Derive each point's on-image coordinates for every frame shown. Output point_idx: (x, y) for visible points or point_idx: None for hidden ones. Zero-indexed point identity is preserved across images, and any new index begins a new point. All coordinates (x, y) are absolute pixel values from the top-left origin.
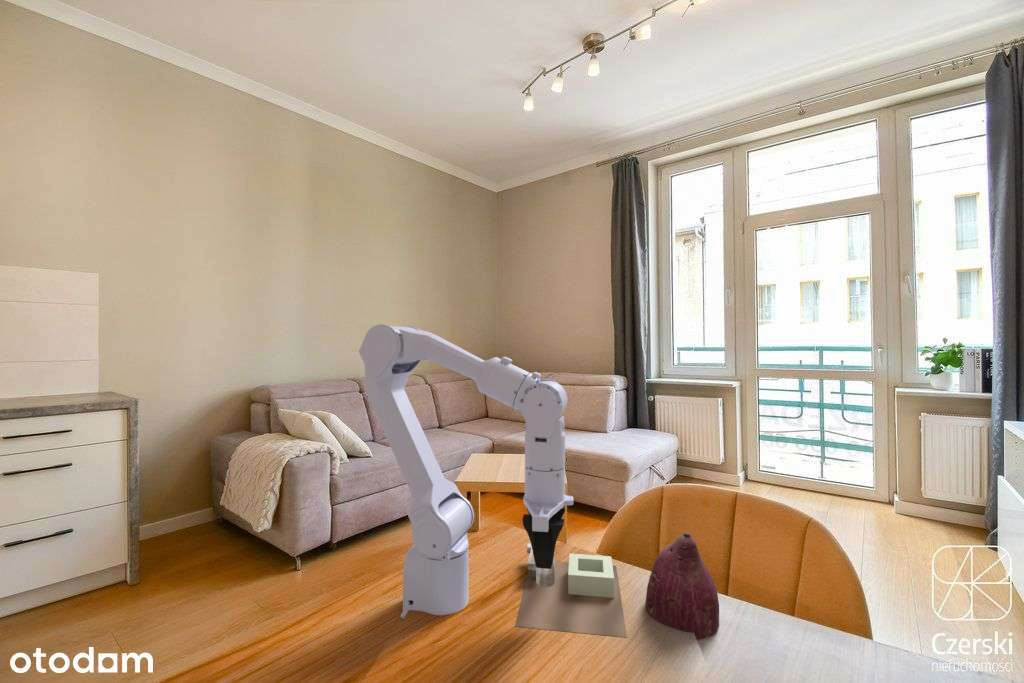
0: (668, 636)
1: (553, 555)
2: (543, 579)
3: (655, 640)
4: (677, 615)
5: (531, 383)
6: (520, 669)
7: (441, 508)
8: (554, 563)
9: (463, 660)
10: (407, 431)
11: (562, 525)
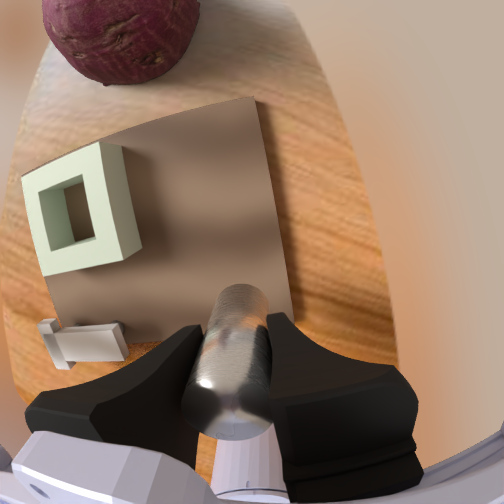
0: (200, 37)
1: (295, 326)
2: None
3: (220, 55)
4: (188, 6)
5: None
6: (376, 279)
7: None
8: (234, 308)
9: (372, 362)
10: None
11: (393, 378)
